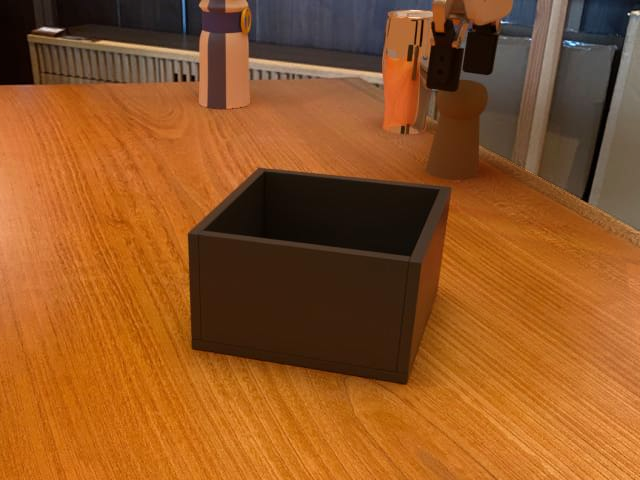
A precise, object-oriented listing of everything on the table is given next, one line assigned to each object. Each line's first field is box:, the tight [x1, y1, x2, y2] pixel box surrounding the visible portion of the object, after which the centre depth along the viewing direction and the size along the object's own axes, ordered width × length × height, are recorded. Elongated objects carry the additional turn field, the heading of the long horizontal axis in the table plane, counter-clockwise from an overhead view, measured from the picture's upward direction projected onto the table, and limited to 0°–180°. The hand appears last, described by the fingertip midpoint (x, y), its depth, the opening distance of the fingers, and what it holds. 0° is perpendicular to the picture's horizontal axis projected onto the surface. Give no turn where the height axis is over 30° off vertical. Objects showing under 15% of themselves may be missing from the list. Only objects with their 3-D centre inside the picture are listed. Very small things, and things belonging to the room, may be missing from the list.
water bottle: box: [198, 0, 252, 110], centre depth 119 cm, size 8×9×25 cm
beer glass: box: [381, 9, 434, 135], centre depth 104 cm, size 7×7×15 cm
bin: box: [187, 167, 453, 385], centre depth 63 cm, size 16×16×9 cm
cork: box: [425, 79, 489, 181], centre depth 89 cm, size 6×6×11 cm
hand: (459, 81), depth 86 cm, fingers open, 9 cm apart
